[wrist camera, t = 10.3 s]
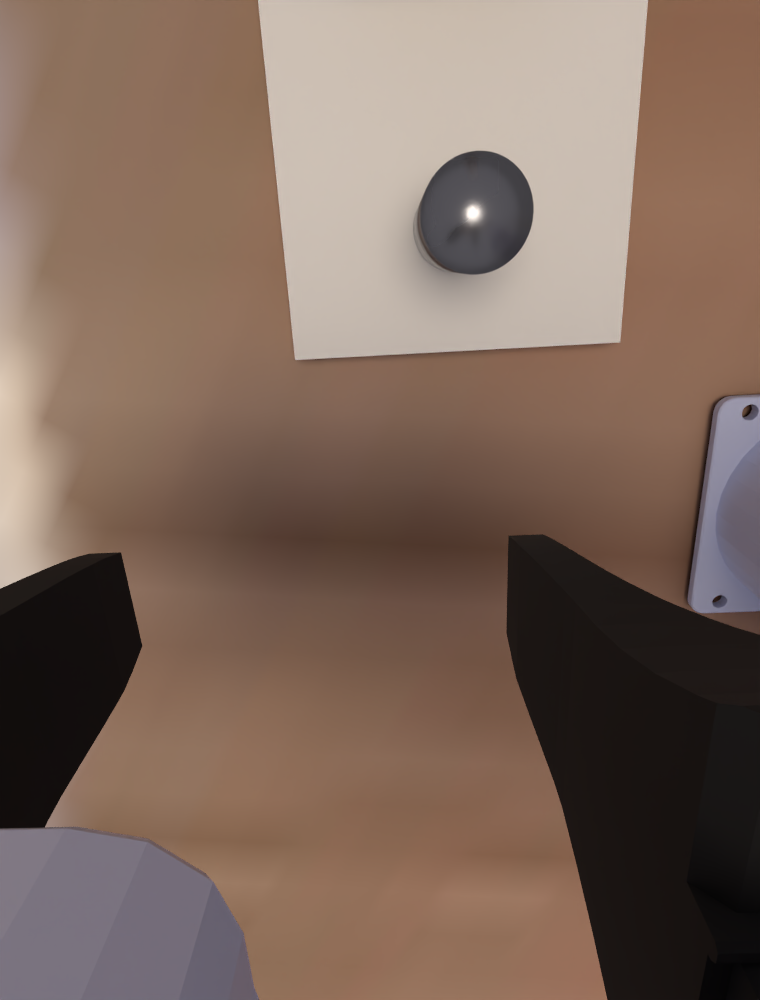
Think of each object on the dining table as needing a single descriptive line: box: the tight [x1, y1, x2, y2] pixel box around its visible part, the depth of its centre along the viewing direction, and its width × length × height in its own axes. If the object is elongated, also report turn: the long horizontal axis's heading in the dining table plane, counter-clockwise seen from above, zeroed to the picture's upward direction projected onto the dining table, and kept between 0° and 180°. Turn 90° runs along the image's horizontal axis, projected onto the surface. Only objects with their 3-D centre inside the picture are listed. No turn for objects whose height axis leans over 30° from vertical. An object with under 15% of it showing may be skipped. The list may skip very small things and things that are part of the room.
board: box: [258, 0, 648, 360], centre depth 16 cm, size 10×17×1 cm, turn 3°
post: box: [413, 151, 534, 275], centre depth 16 cm, size 2×2×6 cm
